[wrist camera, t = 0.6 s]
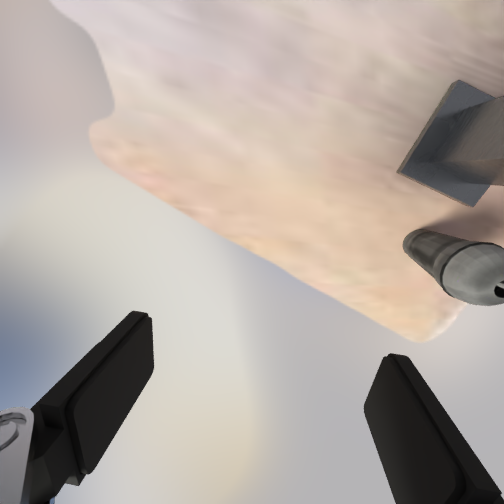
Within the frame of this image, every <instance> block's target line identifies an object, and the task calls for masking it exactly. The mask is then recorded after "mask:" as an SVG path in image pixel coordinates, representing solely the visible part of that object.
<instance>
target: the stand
mask: <svg viewBox="0 0 504 504" xmlns="http://www.w3.org/2000/svg"><path fill="white" fill-rule="evenodd" d="M397 173H399V174H401V175H403V176H405V177H407V178H409V179H411V180H413V181H416V182H418V183H420V184H422V185H424V186H426V187H428V188H430V189H432V190H435V191H437V192H439V193H441V194H443V195H445V196H447V197H449V198H451V199H453V200H456V201H458V202H460V203H462V204H464V205H466V206H470V207H474V206H475V204H476V203H477V202H478V201H479V199H480V198H481V197H482V195H483V194H484V193H485V192H486V190H487V189H488V188H489V187H490V185H500V186H504V96H502V97H499V98H494V97H492V96H490V95H488V94H486V93H484V92H482V91H480V90H478V89H476V88H474V87H472V86H470V85H468V84H466V83H464V82H462V81H460V80H458V81H456V82H454V83H452V84H451V86H450V88H449V89H448V91H447V92H446V94H445V96H444V97H443V99H442V100H441V102H440V103H439V105H438V107H437V108H436V110H435V111H434V113H433V115H432V116H431V118H430V119H429V121H428V123H427V124H426V126H425V127H424V129H423V131H422V132H421V134H420V135H419V137H418V139H417V140H416V142H415V143H414V145H413V147H412V148H411V150H410V151H409V153H408V155H407V156H406V158H405V159H404V161H403V163H402V164H401V166H400V167H399V169H398V171H397Z"/></svg>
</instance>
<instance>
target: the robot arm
mask: <svg viewBox="0 0 504 504" xmlns="http://www.w3.org/2000/svg"><path fill="white" fill-rule="evenodd" d="M153 369H154V355H153V332H152V318H151V317H149V316H148V314H147V313H144V312H138V311H132V312H130V313H129V314H128V315H127V316H126V317H125V318H124V319H123V320H122V321H121V322H120V323H119V324H118V325H117V326H116V327H115V328H114V329H113V330H112V331H111V332H110V333H109V334H108V335H107V336H106V337H105V338H104V339H103V340H102V341H101V342H99V343H98V344H97V345H95V346H94V347H93V348H92V349H91V350H90V351H89V352H88V353H87V354H86V355H85V356H84V357H83V358H82V359H81V360H80V361H79V362H78V363H77V364H76V365H75V366H74V367H73V368H72V369H71V370H70V371H69V372H68V373H67V374H66V375H65V376H64V377H63V378H62V379H61V380H60V381H58V383H56V384H55V385H54V386H53V387H52V388H51V389H50V390H49V391H48V393H46V394H45V395H44V396H43V397H42V398H41V399H40V400H39V401H38V402H37V403H36V404H35V405H34V406H33V407H32V408H31V409H28V408H25V407H13V408H9V409H5V410H2V411H0V504H54V503H55V496H56V495H57V494H58V493H59V491H60V490H61V488H62V486H63V485H64V484H65V483H67V484H71V485H76V486H79V485H80V483H81V482H82V480H83V479H84V477H85V475H86V474H90V473H92V471H93V470H94V469H95V467H96V466H97V464H98V463H99V461H100V459H101V458H102V456H103V454H104V453H105V451H106V449H107V448H108V446H109V445H110V443H111V441H112V439H113V438H114V436H115V435H116V433H117V431H118V430H119V428H120V426H121V425H122V423H123V422H124V420H125V418H126V417H127V415H128V413H129V412H130V410H131V408H132V407H133V405H134V403H135V402H136V400H137V398H138V396H139V395H140V394H141V392H142V390H143V389H144V387H145V385H146V384H147V382H148V380H149V379H150V377H151V375H152V373H153ZM364 413H365V417H366V420H367V423H368V425H369V428H370V431H371V434H372V437H373V439H374V443H375V445H376V448H377V451H378V454H379V457H380V460H381V462H382V465H383V468H384V471H385V474H386V477H387V480H388V482H389V485H390V488H391V491H392V494H393V497H394V500H395V502H396V504H504V500H503V498H502V497H501V494H502V492H501V491H500V490H499V488H498V487H497V485H496V484H495V482H494V481H493V479H492V478H491V476H490V475H489V474H488V472H487V471H486V469H485V468H484V466H483V465H482V463H481V462H480V460H479V459H478V457H477V456H476V455H475V454H474V452H473V450H472V449H471V447H470V446H469V444H468V443H467V441H466V440H465V439H464V437H463V436H462V434H461V433H460V431H459V430H458V428H457V427H456V425H455V424H454V423H453V421H452V420H451V418H450V417H449V415H448V414H447V412H446V411H445V409H444V408H443V406H442V405H441V404H440V402H439V401H438V399H437V398H436V396H435V395H434V393H433V392H432V391H431V389H430V388H429V386H428V385H427V383H426V382H425V380H424V379H423V378H422V376H421V374H420V373H419V372H418V370H417V369H416V367H415V366H414V365H413V363H412V361H411V360H410V359H409V357H407V356H404V355H398V354H391V353H390V354H388V356H387V357H384V358H383V360H382V362H381V364H380V367H379V369H378V372H377V374H376V377H375V379H374V382H373V384H372V386H371V389H370V391H369V394H368V397H367V399H366V401H365V404H364Z"/></svg>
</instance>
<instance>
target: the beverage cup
mask: <svg viewBox="0 0 504 504" xmlns="http://www.w3.org/2000/svg"><path fill="white" fill-rule="evenodd" d="M403 249H404V251H405V252H406V253H407V254H408V255H409V257H411V258H412V259H413V260H414V261H415V262H416V263H417V264H419V265H420V266H421V267H422V268H423V269H424V270H426V271H427V272H428V273H429V274H430V275H431V276H432V277H434V278H435V279H436V281H437V282H438V284H439V285H440V286H441V287H442V288H443V290H444V291H445V292H446V293H447V294H448V295H449V296H452V297H454V298H457V299H459V300H462V301H464V302H467V303H469V304H473V305H484V306H492V305H498V304H503V303H504V248H502V247H501V246H499V245H496V244H494V243H488V242H477V241H468V240H464V239H460V238H456V237H452V236H448V235H444V234H440V233H436V232H432V231H425V230H415V231H413V232H411V233H409V234H408V235H407V236H406V238H405V239H404V241H403Z"/></svg>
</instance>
